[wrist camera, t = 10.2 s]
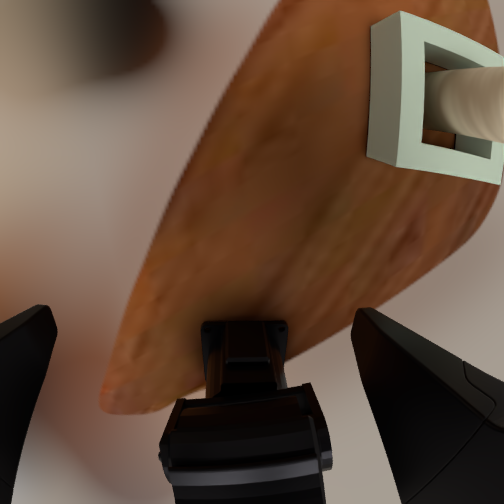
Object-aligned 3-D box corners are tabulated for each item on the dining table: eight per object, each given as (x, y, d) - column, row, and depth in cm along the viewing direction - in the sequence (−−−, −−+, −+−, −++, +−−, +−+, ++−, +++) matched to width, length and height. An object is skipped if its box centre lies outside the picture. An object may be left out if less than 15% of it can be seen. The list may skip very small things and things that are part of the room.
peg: (445, 134, 18) (540, 156, 10) (401, 124, 17) (498, 139, 9) (448, 81, 16) (543, 82, 8) (403, 67, 16) (498, 53, 8)
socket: (465, 172, 19) (500, 184, 15) (366, 156, 18) (395, 166, 15) (471, 61, 15) (506, 59, 12) (370, 26, 15) (400, 10, 11)
